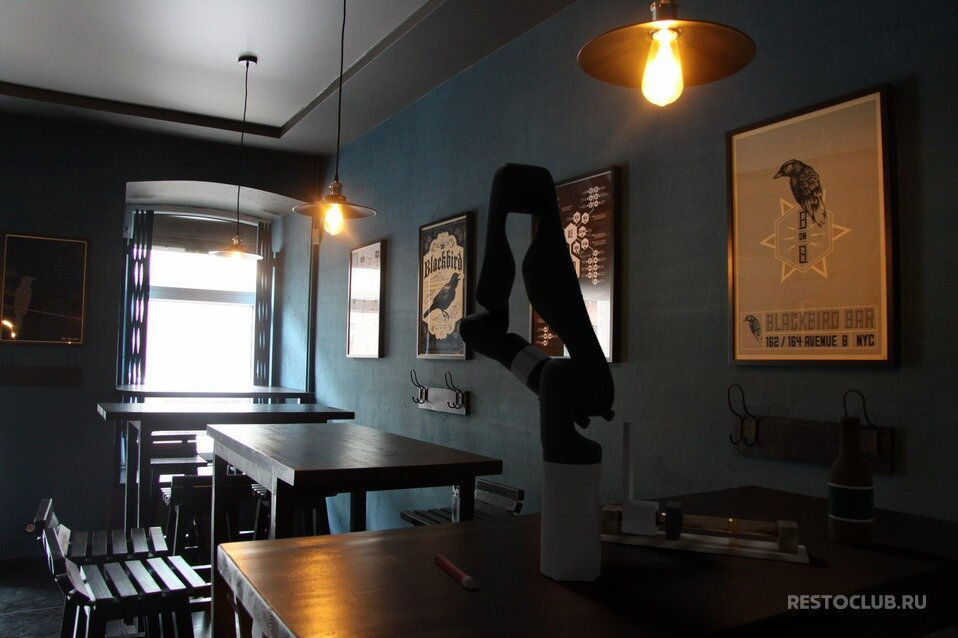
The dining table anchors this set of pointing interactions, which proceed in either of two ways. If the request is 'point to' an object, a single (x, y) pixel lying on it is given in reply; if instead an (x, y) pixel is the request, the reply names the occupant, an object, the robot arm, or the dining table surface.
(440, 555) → the flare
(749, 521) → the pipe
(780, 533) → the pipe stand
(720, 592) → the dining table surface
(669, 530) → the ring
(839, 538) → the beer bottle
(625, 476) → the grey l-shaped bracket
